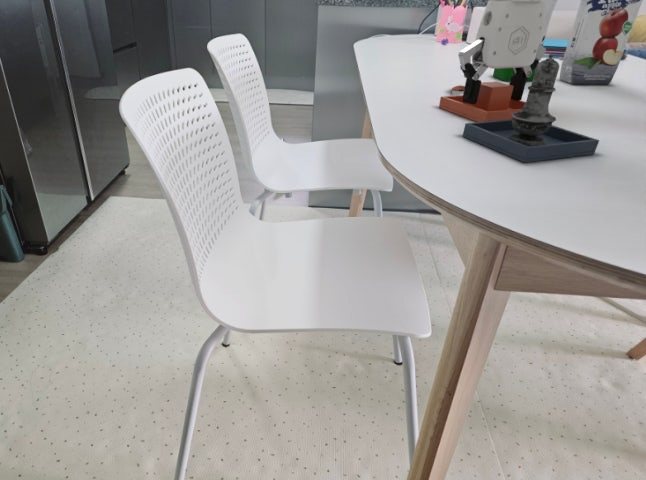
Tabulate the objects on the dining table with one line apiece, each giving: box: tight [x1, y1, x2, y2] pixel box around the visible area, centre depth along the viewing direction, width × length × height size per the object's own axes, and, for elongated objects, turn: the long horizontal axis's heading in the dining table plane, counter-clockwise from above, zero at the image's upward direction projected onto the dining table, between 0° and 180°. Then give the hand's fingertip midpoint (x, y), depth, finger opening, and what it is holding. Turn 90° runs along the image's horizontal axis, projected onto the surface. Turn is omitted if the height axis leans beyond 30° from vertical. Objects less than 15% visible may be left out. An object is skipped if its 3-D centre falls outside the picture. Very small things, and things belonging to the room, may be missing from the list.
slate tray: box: [462, 119, 600, 163], centre depth 69 cm, size 12×13×2 cm
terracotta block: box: [471, 81, 514, 112], centre depth 84 cm, size 4×4×4 cm
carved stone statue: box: [507, 51, 560, 146], centre depth 66 cm, size 6×6×12 cm
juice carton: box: [559, 0, 643, 86], centre depth 105 cm, size 9×10×27 cm
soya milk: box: [492, 0, 558, 82], centre depth 111 cm, size 9×9×20 cm
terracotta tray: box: [438, 95, 526, 122], centre depth 85 cm, size 12×13×2 cm
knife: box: [449, 84, 465, 96], centre depth 100 cm, size 13×1×3 cm
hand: (491, 101), depth 85 cm, fingers open, 9 cm apart
